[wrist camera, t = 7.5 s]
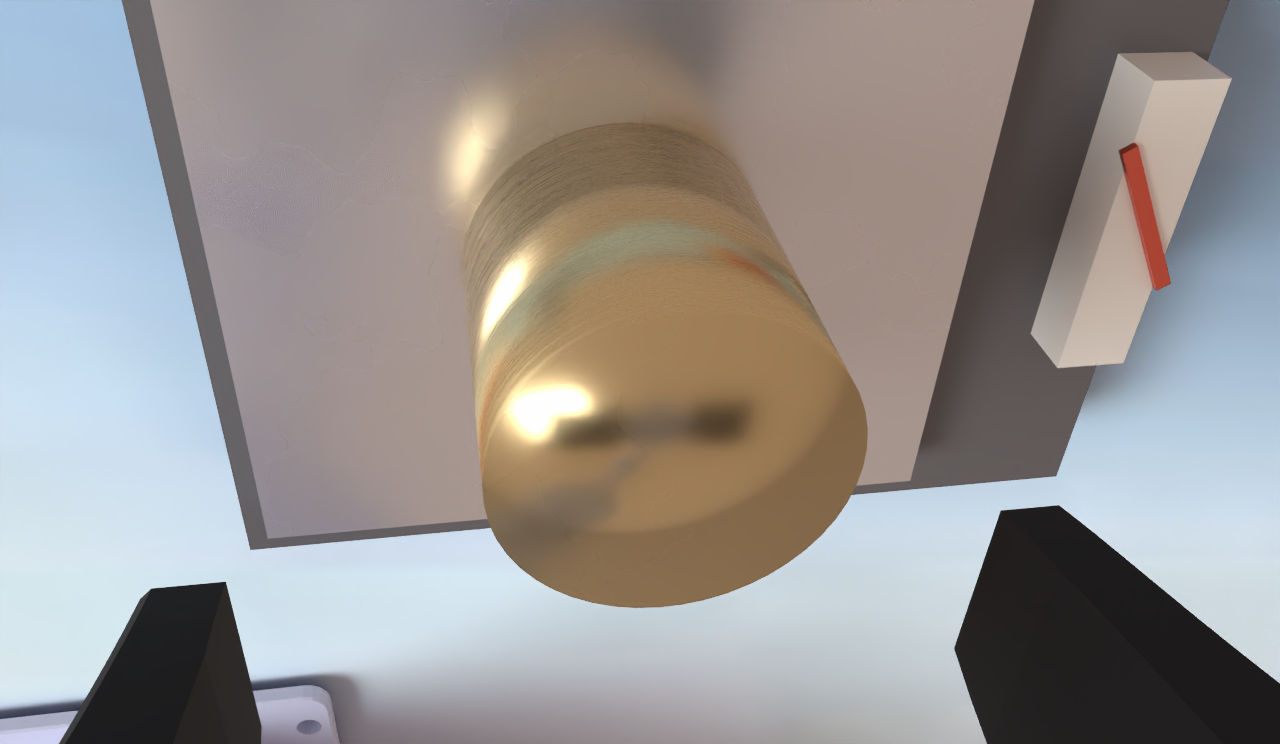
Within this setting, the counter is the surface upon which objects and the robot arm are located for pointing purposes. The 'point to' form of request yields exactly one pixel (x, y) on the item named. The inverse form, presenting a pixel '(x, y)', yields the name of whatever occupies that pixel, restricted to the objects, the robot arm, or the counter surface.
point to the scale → (1000, 251)
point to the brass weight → (649, 374)
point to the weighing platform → (500, 136)
